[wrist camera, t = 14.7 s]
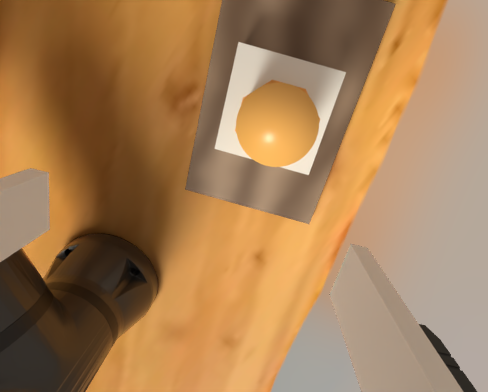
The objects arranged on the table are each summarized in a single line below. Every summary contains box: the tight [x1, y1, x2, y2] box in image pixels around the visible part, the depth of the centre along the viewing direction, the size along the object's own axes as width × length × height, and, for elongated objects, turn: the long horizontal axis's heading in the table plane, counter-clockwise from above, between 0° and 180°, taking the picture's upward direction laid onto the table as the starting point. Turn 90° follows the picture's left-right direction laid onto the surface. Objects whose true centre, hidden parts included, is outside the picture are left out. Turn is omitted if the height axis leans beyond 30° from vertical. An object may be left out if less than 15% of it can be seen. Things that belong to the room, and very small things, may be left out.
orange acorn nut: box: [235, 80, 320, 167], centre depth 24 cm, size 6×6×8 cm
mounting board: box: [185, 0, 395, 224], centre depth 32 cm, size 16×24×2 cm, turn 165°
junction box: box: [215, 42, 346, 175], centre depth 27 cm, size 10×10×9 cm
